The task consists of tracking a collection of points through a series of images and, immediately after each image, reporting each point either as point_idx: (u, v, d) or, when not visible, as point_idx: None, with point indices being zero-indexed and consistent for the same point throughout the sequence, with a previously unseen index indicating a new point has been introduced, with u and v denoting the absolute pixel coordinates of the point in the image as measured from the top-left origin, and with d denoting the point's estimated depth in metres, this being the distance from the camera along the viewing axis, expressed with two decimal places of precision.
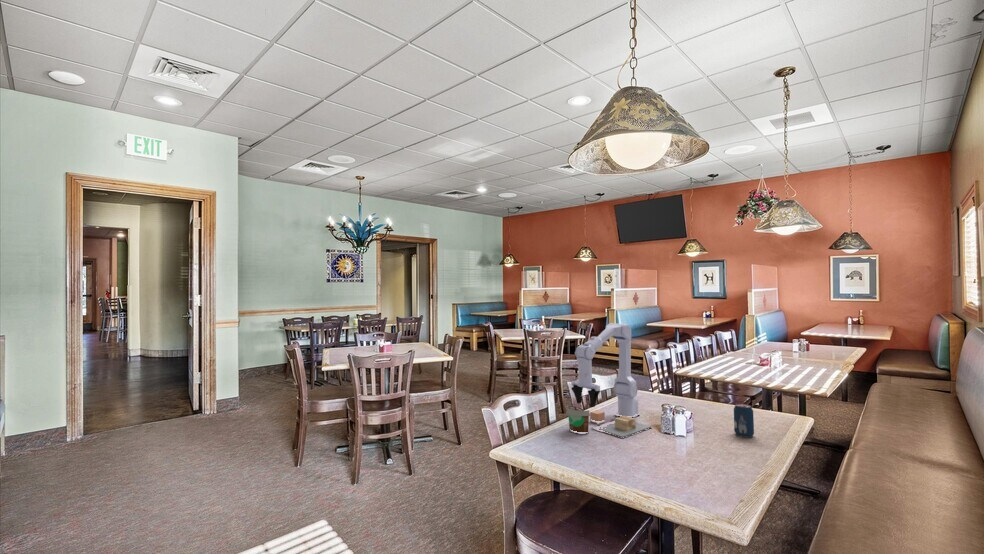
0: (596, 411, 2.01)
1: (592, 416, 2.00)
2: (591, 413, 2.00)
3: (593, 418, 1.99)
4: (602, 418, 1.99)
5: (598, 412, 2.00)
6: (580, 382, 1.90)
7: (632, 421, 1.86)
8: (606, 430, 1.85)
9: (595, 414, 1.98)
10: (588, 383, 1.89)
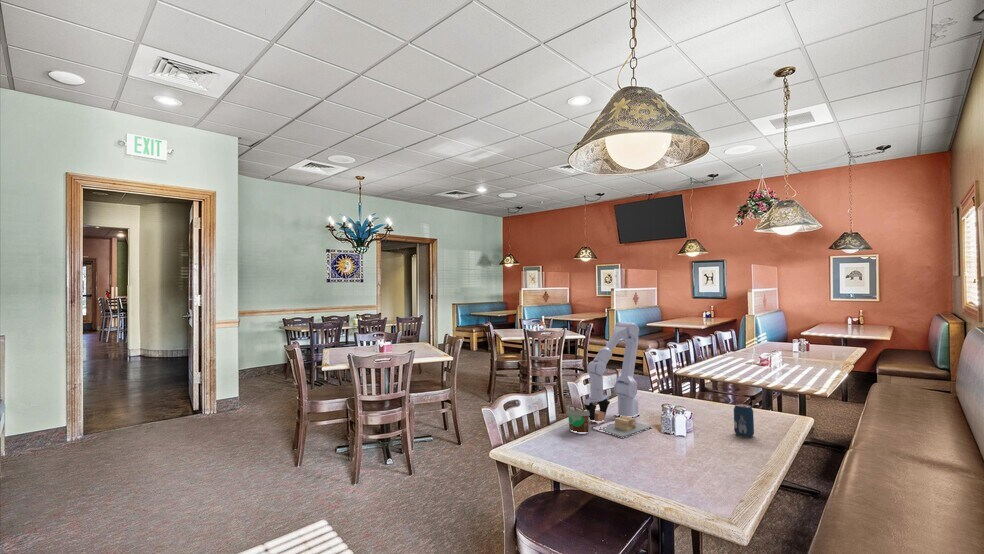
0: (596, 411, 2.01)
1: None
2: None
3: None
4: (602, 418, 1.99)
5: (598, 412, 2.00)
6: None
7: (632, 421, 1.86)
8: (606, 430, 1.85)
9: (595, 414, 1.98)
10: (591, 397, 2.00)
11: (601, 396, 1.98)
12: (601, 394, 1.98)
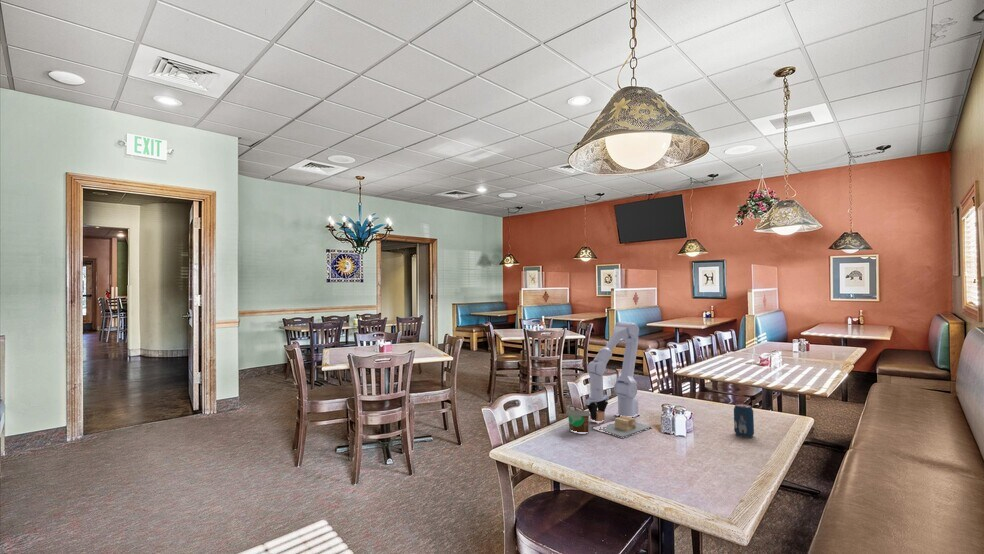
0: None
1: None
2: None
3: None
4: (602, 418, 1.99)
5: (598, 412, 2.00)
6: None
7: (632, 421, 1.86)
8: (606, 430, 1.85)
9: None
10: (591, 397, 2.00)
11: (601, 396, 1.98)
12: (601, 394, 1.98)
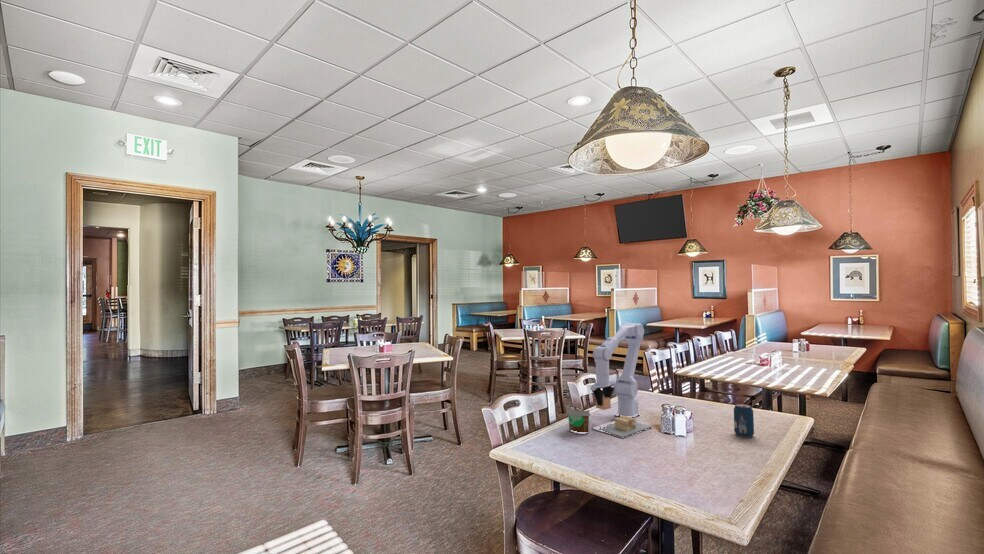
0: None
1: None
2: None
3: None
4: (608, 404, 1.96)
5: (604, 398, 1.97)
6: None
7: (632, 421, 1.86)
8: (606, 430, 1.85)
9: None
10: (597, 382, 1.97)
11: (607, 382, 1.95)
12: (607, 380, 1.95)
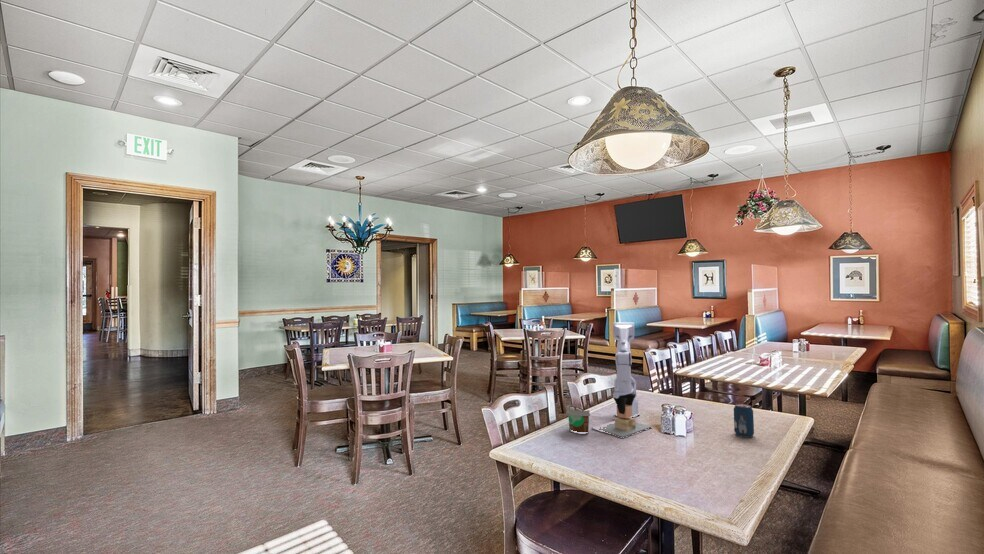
0: None
1: None
2: None
3: None
4: (630, 412, 1.88)
5: (625, 406, 1.88)
6: None
7: (632, 421, 1.86)
8: (606, 430, 1.85)
9: None
10: (618, 389, 1.88)
11: (629, 389, 1.86)
12: (629, 386, 1.87)
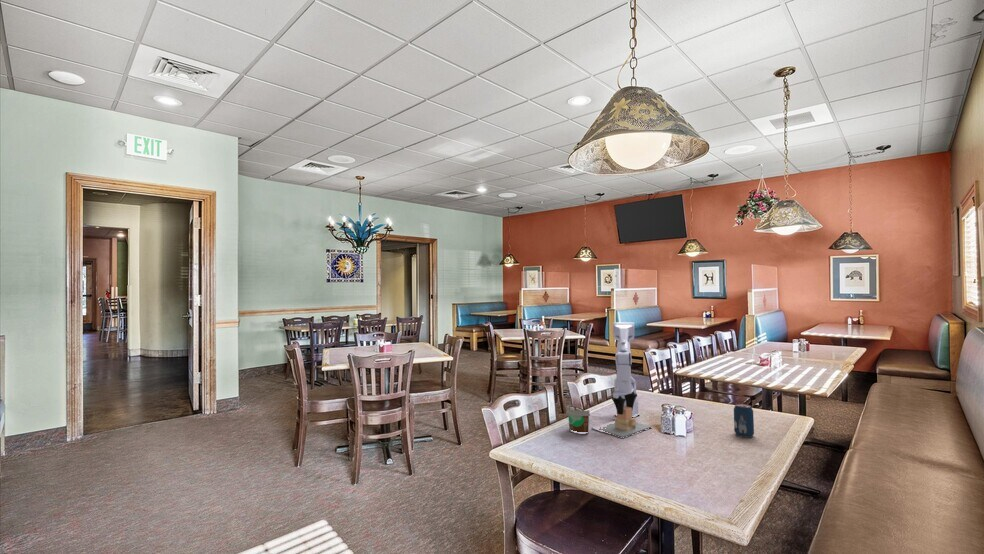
0: (623, 407, 1.90)
1: None
2: None
3: (620, 414, 1.87)
4: (630, 414, 1.88)
5: (625, 408, 1.88)
6: None
7: (632, 421, 1.86)
8: (606, 430, 1.85)
9: (623, 410, 1.87)
10: (618, 389, 1.88)
11: (629, 389, 1.86)
12: (629, 386, 1.87)
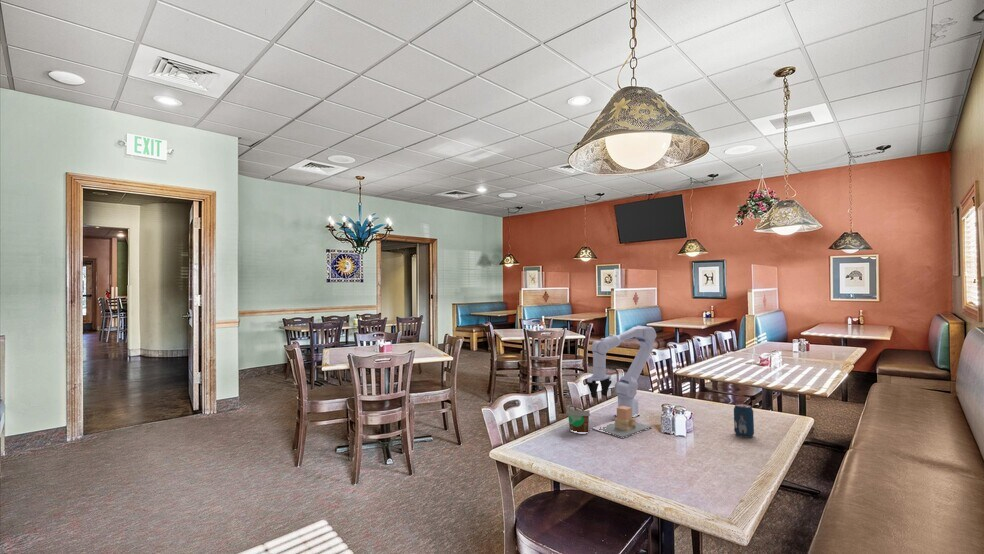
0: (623, 407, 1.90)
1: (619, 412, 1.88)
2: (618, 409, 1.88)
3: (620, 414, 1.87)
4: (630, 414, 1.88)
5: (625, 408, 1.88)
6: None
7: (632, 421, 1.86)
8: (606, 430, 1.85)
9: (623, 410, 1.87)
10: (593, 375, 2.04)
11: (603, 375, 2.02)
12: (604, 373, 2.02)
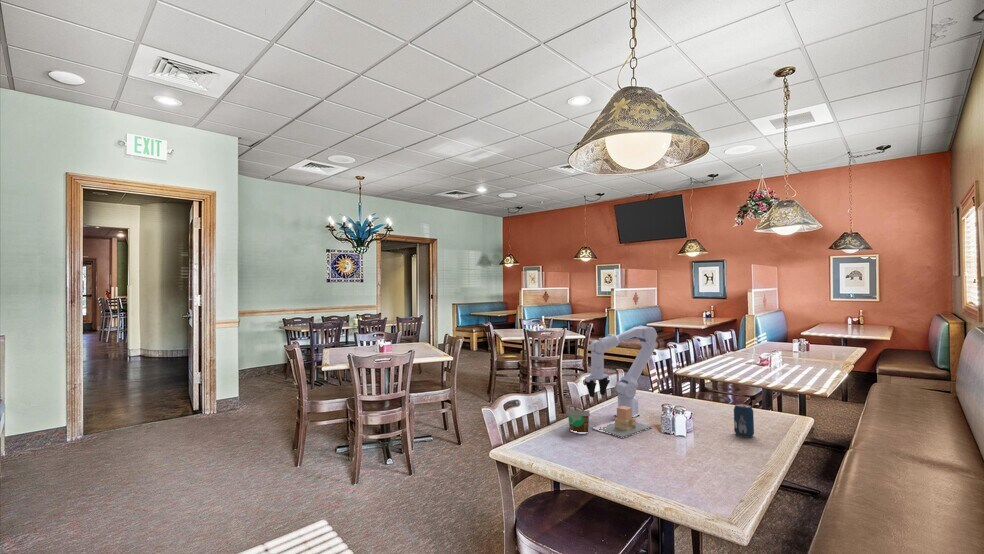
0: (623, 407, 1.90)
1: (619, 412, 1.88)
2: (618, 409, 1.88)
3: (620, 414, 1.87)
4: (630, 414, 1.88)
5: (625, 408, 1.88)
6: None
7: (632, 421, 1.86)
8: (606, 430, 1.85)
9: (623, 410, 1.87)
10: (591, 374, 2.05)
11: (601, 374, 2.04)
12: (601, 372, 2.04)
